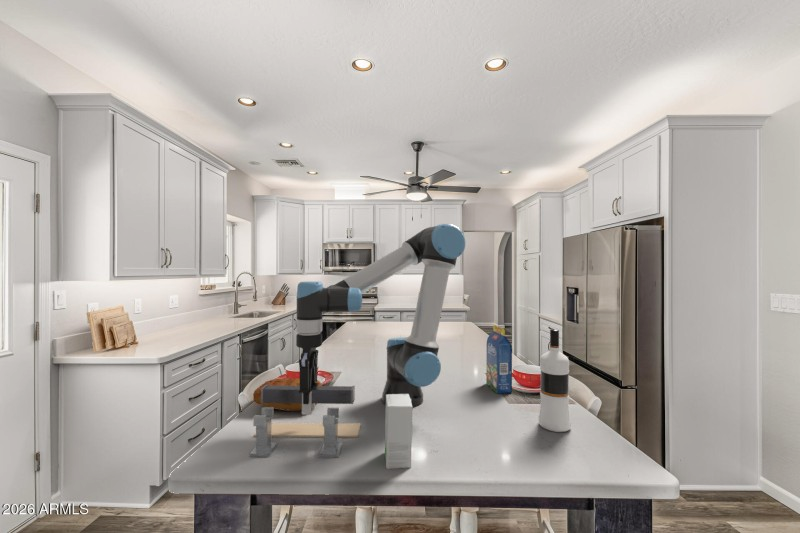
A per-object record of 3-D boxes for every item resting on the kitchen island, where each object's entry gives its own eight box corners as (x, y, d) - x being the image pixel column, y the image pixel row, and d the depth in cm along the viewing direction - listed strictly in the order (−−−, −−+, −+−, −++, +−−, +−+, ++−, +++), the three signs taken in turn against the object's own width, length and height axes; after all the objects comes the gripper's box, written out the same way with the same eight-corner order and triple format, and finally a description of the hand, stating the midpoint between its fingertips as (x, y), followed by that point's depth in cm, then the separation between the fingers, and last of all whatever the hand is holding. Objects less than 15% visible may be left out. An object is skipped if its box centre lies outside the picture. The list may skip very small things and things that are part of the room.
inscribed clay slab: (248, 414, 120) (248, 390, 120) (269, 396, 137) (269, 375, 137) (313, 416, 119) (313, 391, 119) (326, 397, 136) (326, 376, 136)
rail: (354, 399, 110) (354, 385, 110) (352, 404, 106) (353, 389, 106) (265, 398, 110) (265, 384, 110) (260, 402, 106) (261, 388, 106)
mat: (360, 425, 112) (360, 423, 112) (357, 437, 104) (357, 435, 104) (264, 424, 112) (264, 423, 112) (253, 436, 104) (253, 435, 104)
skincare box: (384, 452, 96) (384, 393, 96) (409, 451, 96) (409, 392, 96) (386, 470, 87) (386, 405, 87) (413, 468, 88) (413, 404, 88)
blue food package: (500, 383, 153) (500, 324, 153) (512, 393, 141) (512, 329, 141) (486, 383, 152) (486, 324, 152) (496, 393, 140) (496, 329, 140)
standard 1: (277, 445, 99) (277, 407, 99) (268, 457, 93) (268, 416, 93) (259, 445, 99) (259, 407, 99) (249, 456, 93) (249, 416, 93)
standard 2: (342, 445, 99) (342, 407, 99) (338, 457, 93) (338, 416, 93) (324, 445, 99) (324, 407, 99) (318, 457, 93) (319, 416, 93)
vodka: (531, 423, 114) (532, 328, 114) (552, 418, 118) (553, 326, 118) (556, 435, 105) (556, 333, 105) (577, 429, 109) (578, 330, 109)
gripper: (304, 328, 116) (303, 400, 116) (288, 338, 100) (287, 422, 100) (327, 328, 116) (326, 401, 116) (315, 338, 100) (314, 423, 100)
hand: (308, 410), depth 108 cm, fingers closed on rail, 3 cm apart
